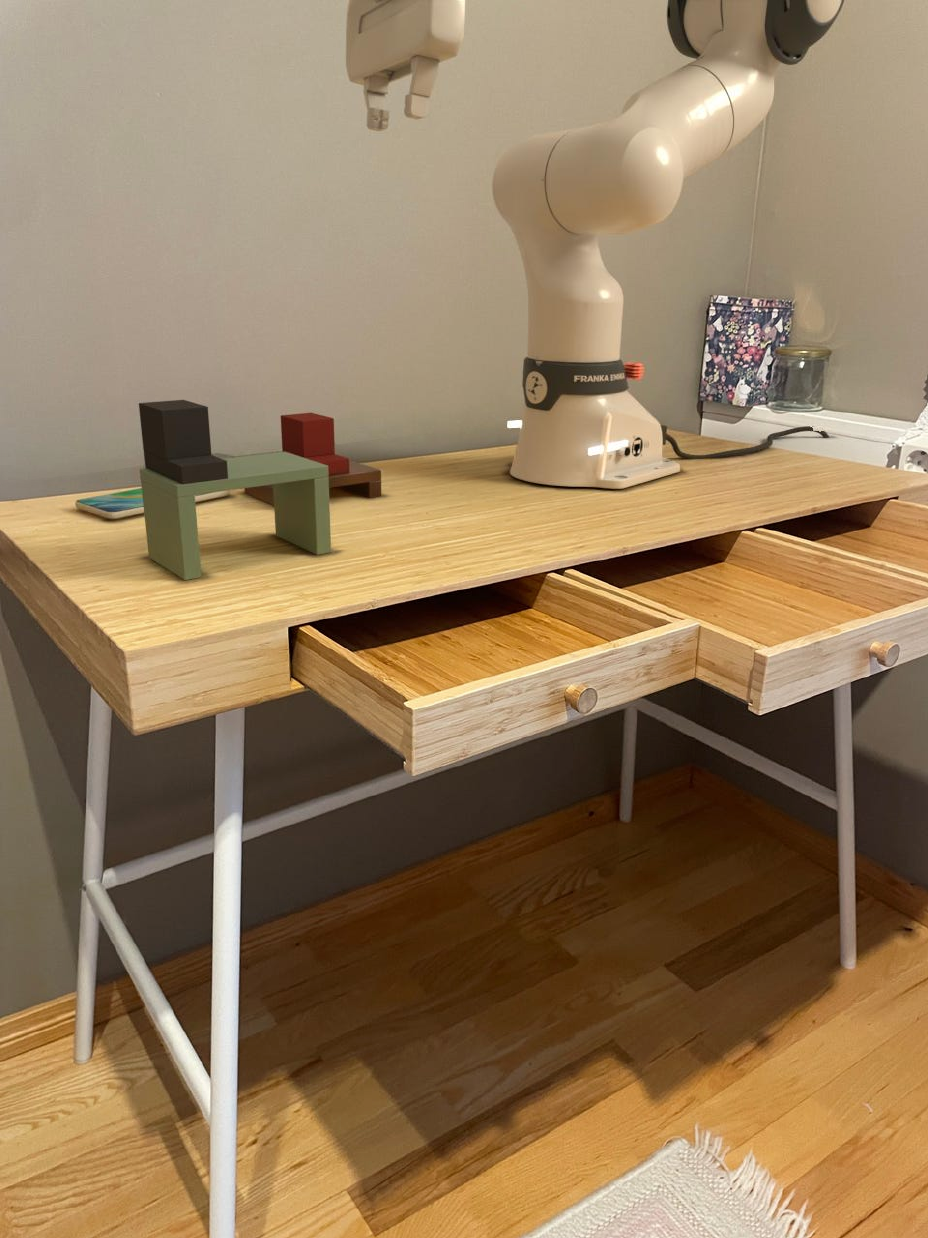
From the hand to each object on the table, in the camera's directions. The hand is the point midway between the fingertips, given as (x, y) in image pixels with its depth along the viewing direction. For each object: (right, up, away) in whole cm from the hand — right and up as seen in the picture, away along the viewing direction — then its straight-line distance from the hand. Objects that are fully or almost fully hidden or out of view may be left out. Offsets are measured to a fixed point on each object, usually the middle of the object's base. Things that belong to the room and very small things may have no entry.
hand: (395, 123), depth 93 cm
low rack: (-11, -34, +16) cm, 39 cm away
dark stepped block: (-17, -36, -12) cm, 41 cm away
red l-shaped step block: (-10, -31, +15) cm, 36 cm away
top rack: (-13, -42, -6) cm, 45 cm away
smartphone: (-27, -35, +11) cm, 46 cm away
